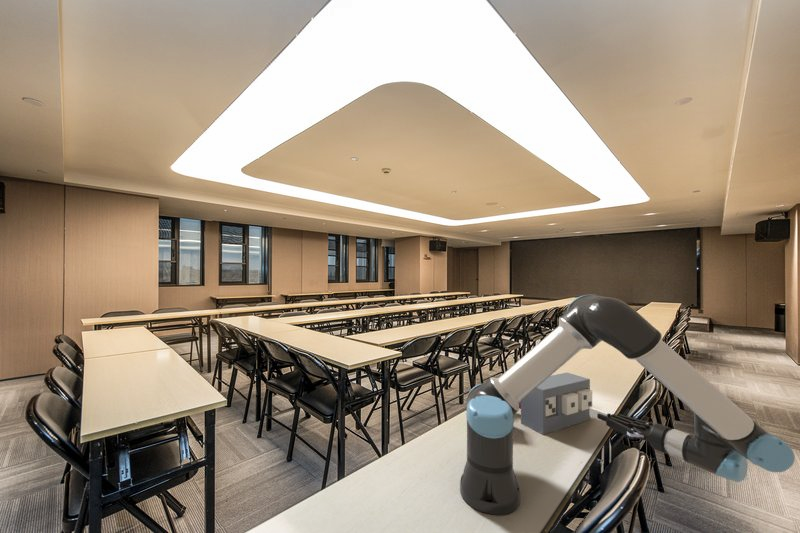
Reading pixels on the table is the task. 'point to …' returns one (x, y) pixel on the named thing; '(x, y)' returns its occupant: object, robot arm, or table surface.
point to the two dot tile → (584, 399)
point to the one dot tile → (569, 403)
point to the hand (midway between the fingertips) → (590, 411)
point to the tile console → (556, 386)
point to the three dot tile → (550, 406)
